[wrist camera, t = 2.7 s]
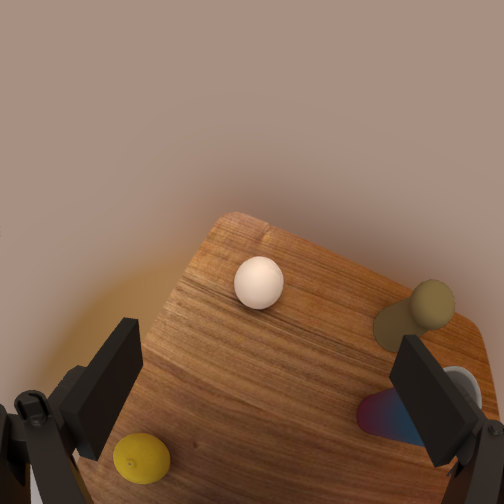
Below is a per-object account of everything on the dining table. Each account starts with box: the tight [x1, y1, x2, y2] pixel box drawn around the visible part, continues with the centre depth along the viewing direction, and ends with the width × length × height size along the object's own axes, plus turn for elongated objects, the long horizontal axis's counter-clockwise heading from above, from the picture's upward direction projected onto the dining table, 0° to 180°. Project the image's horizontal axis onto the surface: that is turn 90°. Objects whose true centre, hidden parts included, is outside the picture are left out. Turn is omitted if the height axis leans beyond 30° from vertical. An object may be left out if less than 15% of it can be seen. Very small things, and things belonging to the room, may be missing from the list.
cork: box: [373, 280, 455, 352], centre depth 31 cm, size 6×6×11 cm
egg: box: [234, 257, 284, 309], centre depth 34 cm, size 5×5×8 cm
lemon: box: [113, 433, 170, 484], centre depth 24 cm, size 6×6×8 cm
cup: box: [357, 366, 482, 447], centre depth 24 cm, size 7×7×15 cm
